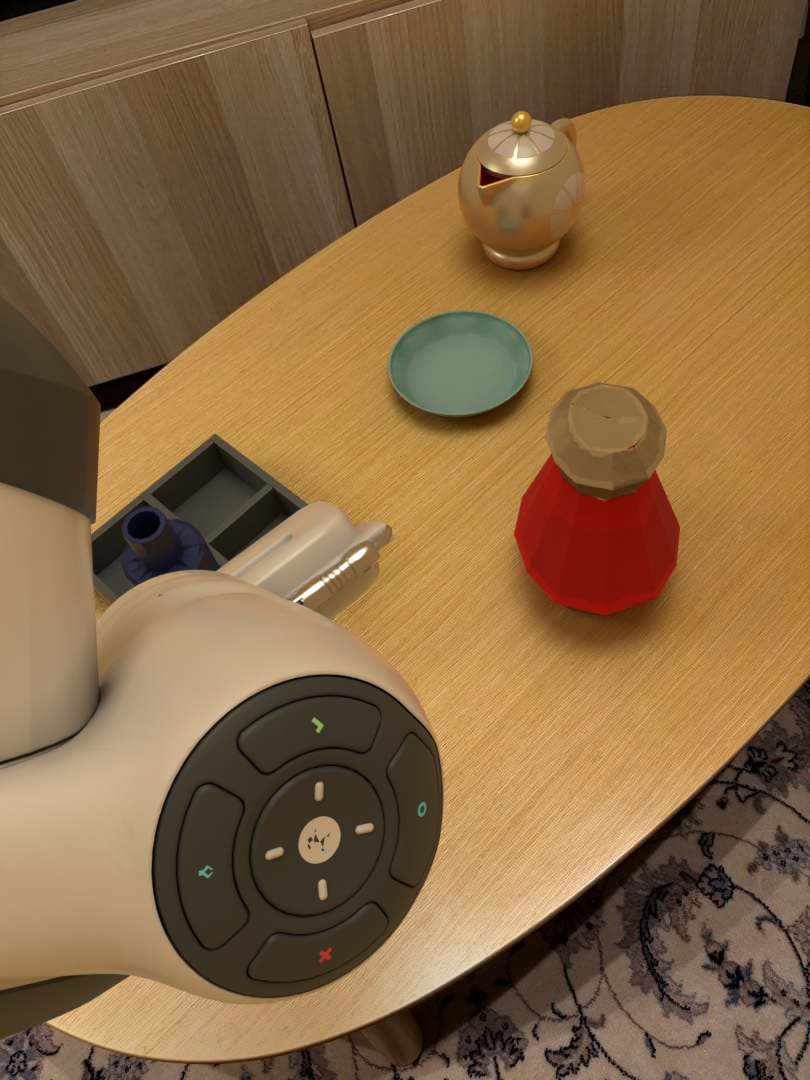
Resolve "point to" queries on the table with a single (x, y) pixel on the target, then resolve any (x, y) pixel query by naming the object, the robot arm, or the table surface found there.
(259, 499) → the tray
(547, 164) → the teapot
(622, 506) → the bottle
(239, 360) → the table surface
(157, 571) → the navy bottle
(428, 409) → the saucer
